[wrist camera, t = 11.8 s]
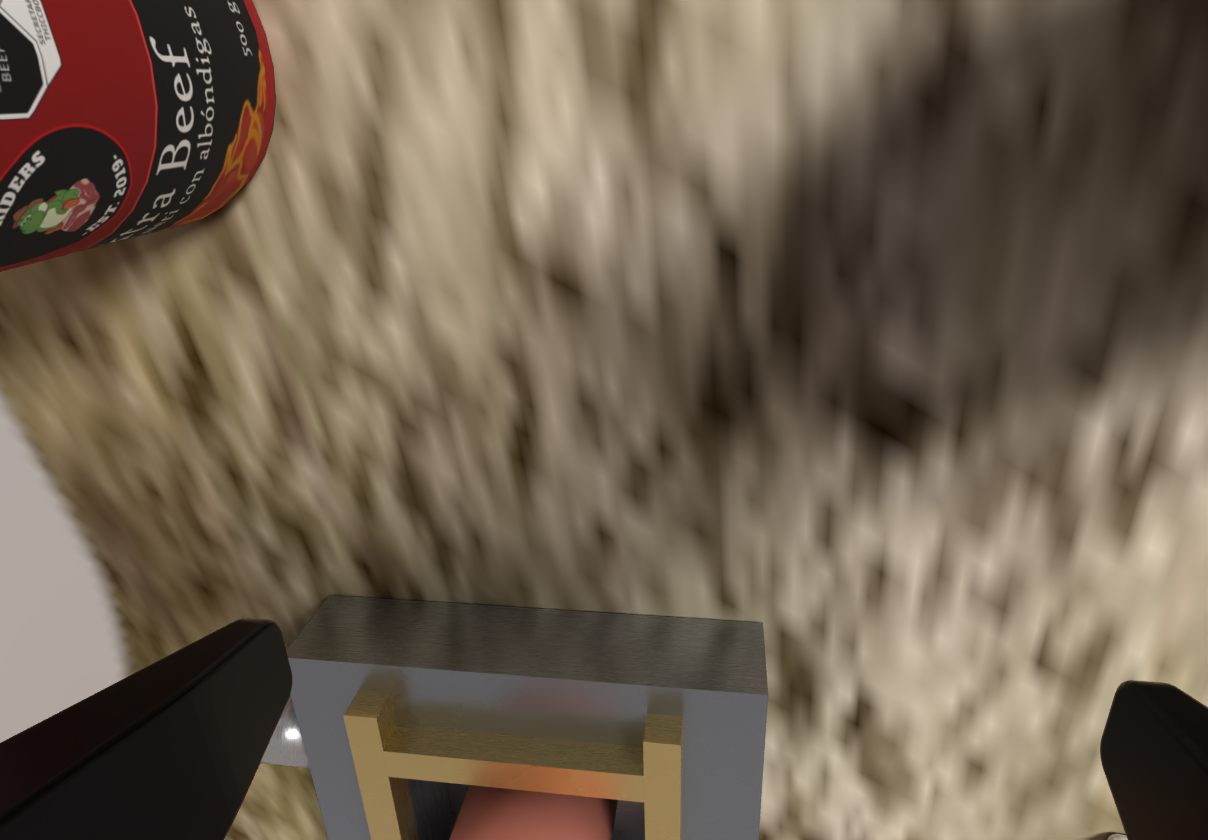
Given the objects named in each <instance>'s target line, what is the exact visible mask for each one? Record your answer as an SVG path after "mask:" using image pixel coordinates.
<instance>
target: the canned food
mask: <svg viewBox="0 0 1208 840" xmlns="http://www.w3.org/2000/svg"><path fill="white" fill-rule="evenodd" d="M275 105H276V93H275V79H274V67H273V63H272V59H271V54H270V50H269V46H268V42H267V37H266V34H265V31H264V29H263V26H262V24H261V21H260V19H259V16H258V14H257V11H256V9H255V6H254V4H253V1H252V0H0V272H1V271H5V270H9V269H13V268H16V267H20V266H24V265H28V264H32V263H36V262H40V261H44V260H47V259H51V258H55V257H59V256H63V255H67V254H71V253H75V252H78V251H82V250H86V249H90V248H94V247H98V246H102V245H106V244H110V243H113V242H117V241H121V240H125V239H129V238H133V237H137V236H141V235H144V234H148V233H152V232H156V231H160V230H164V229H168V228H172V227H175V226H179V225H183V224H186V223H190V222H194V221H197V220H201V219H203V218H205V217H207V216H208V215H210V214H212V213H213V212H215V211H217V210H218V209H220V208H222V207H223V206H224V205H225V204H226V203H227V202H228V201H229V200H230V199H231V198H232V197H233V196H234V195H235V194H236V193H237V192H238V191H239V190H240V189H241V188H242V187H243V186H244V185H245V184H246V183H247V182H248V181H249V180H250V179H251V178H252V177H253V175H254V173H255V172H256V170H257V168H258V166H259V165H260V163H261V161H262V160H263V158H264V156H265V153H266V150H267V147H268V144H269V140H270V137H271V134H272V131H273V124H274V114H275Z"/></svg>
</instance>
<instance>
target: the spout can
mask: <svg viewBox="0 0 1208 840" xmlns="http://www.w3.org/2000/svg"><path fill="white" fill-rule="evenodd" d="M617 803H618V800H614V799H604V798H595V797H585V796H575V795H565V794H555V793H545V792H535V791H525V790H515V789H505V788H495V787H485V786H475V785H469V788H468V790H467V793H466V796H465V799H464V801H463V804H462V807H461V809H460V812H459V815H458V818H457V820H456V823H455V826H454V829H453V831H452V834H451V837H450V839H449V840H612V836H613V829H614V823H615V816H616V809H617Z"/></svg>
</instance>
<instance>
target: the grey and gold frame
mask: <svg viewBox="0 0 1208 840" xmlns="http://www.w3.org/2000/svg"><path fill="white" fill-rule="evenodd" d="M286 652H287V656H288V660H289V664H290V668H291V672H292V689H291V693H290V696H289V699H288V702H287V704H286V706H285V708H284V710H283V713H282V715H281V717H280V719H279V722H278V724H277V726H276V728H275V731H274V733H273V735H272V737H271V740H270V742H269V744H268V746H267V749H266V751H265V753H264V755H263V758H262V760H261V762H260V763H264V764H274V765H284V766H294V767H304V768H310V771H311V775H312V779H313V783H314V787H315V790H316V794H317V798H318V802H319V806H320V810H321V814H322V817H323V821H324V825H325V829H326V833H327V837H328V840H449V839H450V837H451V834H452V831H453V829H454V826H455V823H456V820H457V818H458V815H459V812H460V809H461V807H462V804H463V801H464V799H465V796H466V793H467V790H468V788H469V785H475V786H485V787H495V788H505V789H515V790H525V791H535V792H545V793H555V794H565V795H575V796H585V797H595V798H604V799H614V800H618V803H617V809H616V816H615V823H614V829H613V836H612V840H758V839H759V824H760V809H761V794H762V778H763V763H764V748H765V733H766V717H767V702H768V688H767V674H766V660H765V646H764V632H763V623H759V622H743V621H727V620H712V619H696V618H680V617H665V616H649V615H633V614H618V613H602V612H586V611H571V610H555V609H539V608H524V607H508V606H493V605H477V604H461V603H446V602H430V601H414V600H399V599H383V598H367V597H352V596H336V595H329V596H328V598H327V599H326V600H325V602H324V603H323V604H322V605H321V607H320V608H319V609H318V610H317V612H316V613H315V614H314V616H313V617H312V618H311V619H310V621H309V622H308V623H307V625H306V626H305V627H304V628H303V630H302V631H301V632H300V633H299V635H298V636H297V637H296V639H295V640H294V641H293V642H292V644H291V645H290V646H289V648H288V649H287V650H286Z"/></svg>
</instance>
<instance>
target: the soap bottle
mask: <svg viewBox="0 0 1208 840" xmlns="http://www.w3.org/2000/svg"><path fill="white" fill-rule="evenodd" d="M1107 840H1128V839H1127V836H1126V835H1122V834H1112V835H1111V836H1109V837H1108V839H1107Z"/></svg>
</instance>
